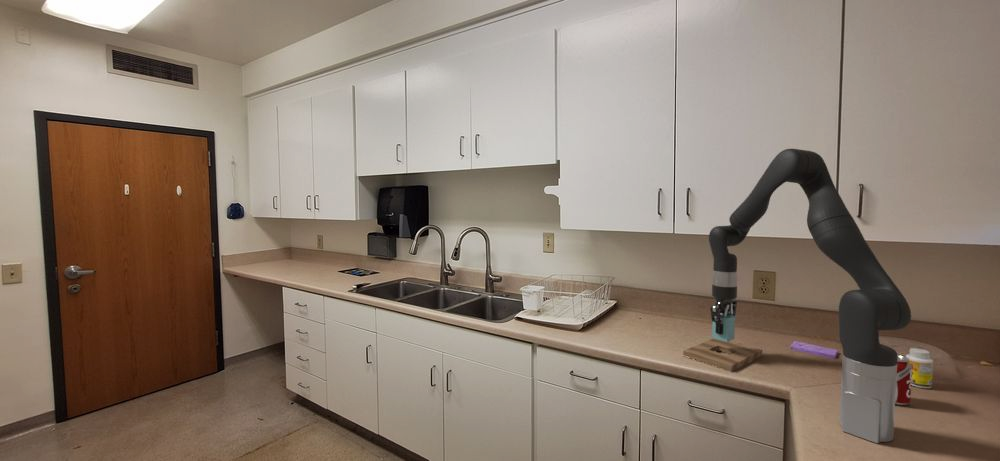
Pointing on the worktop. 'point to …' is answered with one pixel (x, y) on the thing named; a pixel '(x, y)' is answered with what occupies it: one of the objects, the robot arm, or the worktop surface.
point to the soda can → (903, 381)
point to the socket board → (727, 362)
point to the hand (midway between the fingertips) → (723, 332)
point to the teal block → (725, 329)
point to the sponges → (814, 349)
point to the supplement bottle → (921, 367)
